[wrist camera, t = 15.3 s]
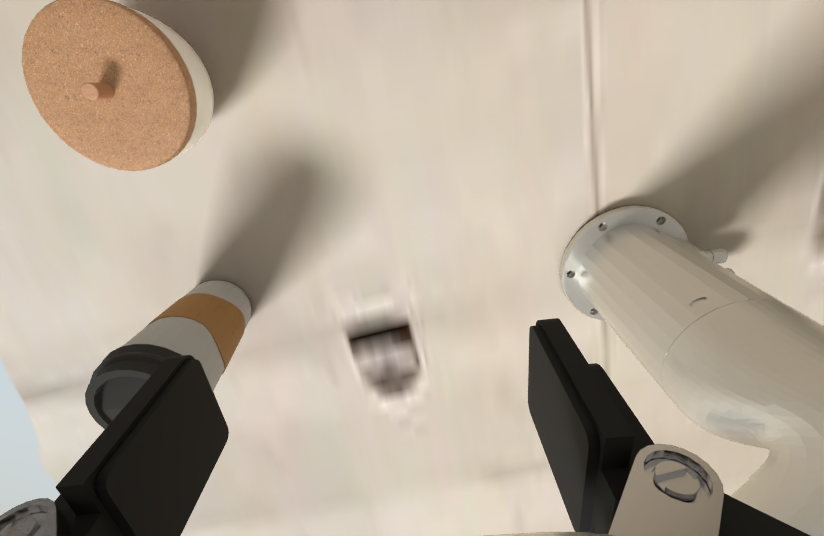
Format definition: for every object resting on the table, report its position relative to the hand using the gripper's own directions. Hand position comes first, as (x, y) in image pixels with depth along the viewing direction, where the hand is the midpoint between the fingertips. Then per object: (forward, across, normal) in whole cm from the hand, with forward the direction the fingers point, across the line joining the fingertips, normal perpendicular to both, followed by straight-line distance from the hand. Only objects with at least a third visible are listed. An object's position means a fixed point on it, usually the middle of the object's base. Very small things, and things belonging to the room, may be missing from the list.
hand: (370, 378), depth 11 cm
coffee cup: (+28, +20, +12) cm, 37 cm away
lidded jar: (+28, +18, -9) cm, 35 cm away
